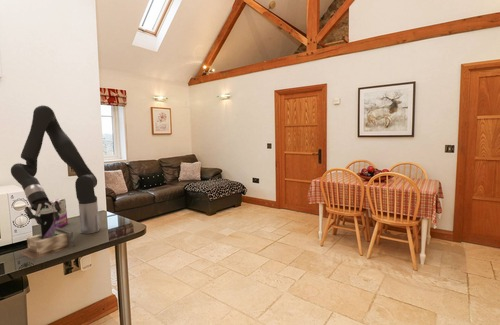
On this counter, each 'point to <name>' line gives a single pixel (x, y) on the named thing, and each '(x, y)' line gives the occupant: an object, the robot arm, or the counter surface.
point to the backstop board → (70, 244)
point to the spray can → (47, 222)
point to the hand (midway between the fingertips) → (49, 221)
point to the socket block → (47, 243)
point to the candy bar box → (61, 213)
